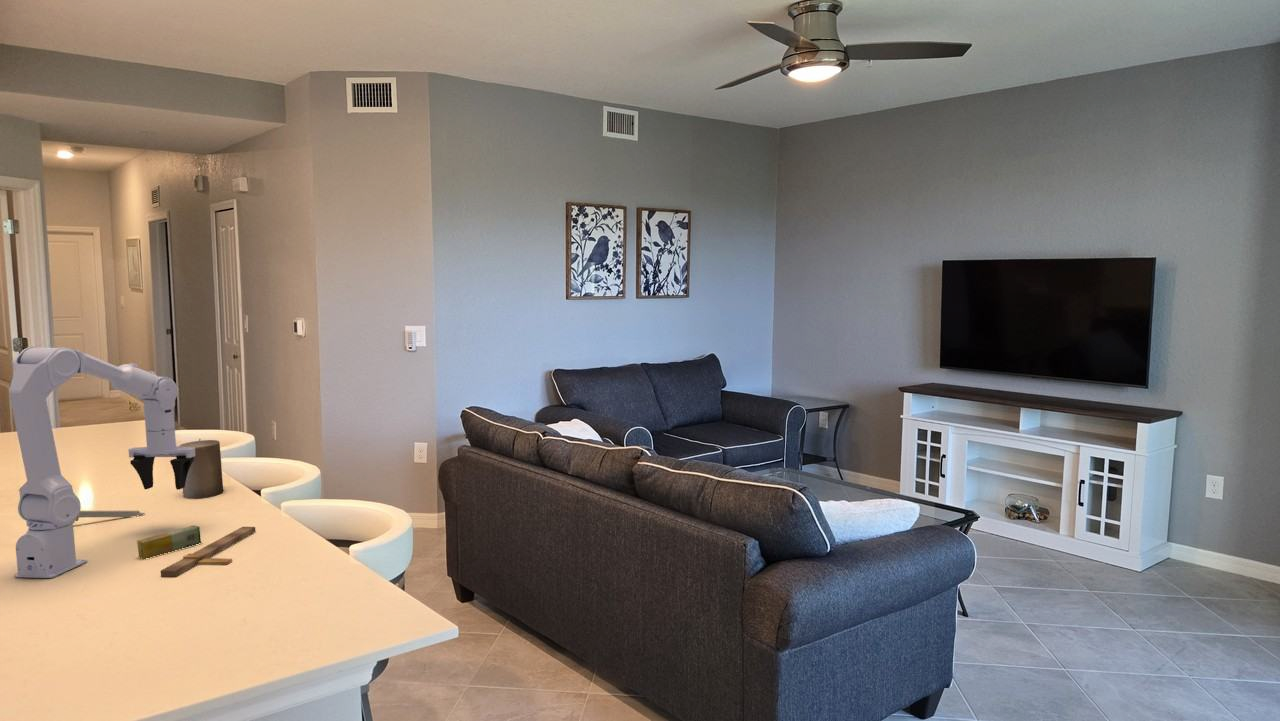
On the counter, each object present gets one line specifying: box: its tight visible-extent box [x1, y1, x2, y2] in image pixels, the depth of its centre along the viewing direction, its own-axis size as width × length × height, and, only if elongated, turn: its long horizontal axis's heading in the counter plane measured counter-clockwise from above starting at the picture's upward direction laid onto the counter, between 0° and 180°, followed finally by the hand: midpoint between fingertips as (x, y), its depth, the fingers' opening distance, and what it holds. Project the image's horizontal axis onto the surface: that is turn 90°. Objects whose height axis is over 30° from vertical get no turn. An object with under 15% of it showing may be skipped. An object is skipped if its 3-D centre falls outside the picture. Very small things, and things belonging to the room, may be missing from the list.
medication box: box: [136, 525, 202, 560], centre depth 176 cm, size 12×3×4 cm, turn 146°
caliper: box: [75, 510, 146, 522], centre depth 196 cm, size 20×1×6 cm, turn 129°
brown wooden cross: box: [160, 526, 256, 578], centre depth 174 cm, size 28×9×2 cm, turn 175°
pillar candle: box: [178, 438, 225, 499], centre depth 221 cm, size 10×10×15 cm
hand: (164, 488), depth 189 cm, fingers open, 7 cm apart
